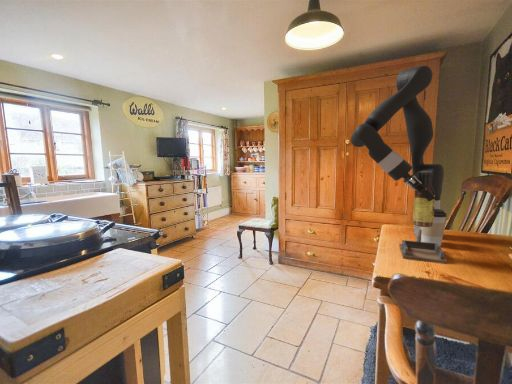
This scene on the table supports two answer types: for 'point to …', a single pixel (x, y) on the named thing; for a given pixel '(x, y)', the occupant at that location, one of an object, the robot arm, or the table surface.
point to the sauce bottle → (424, 203)
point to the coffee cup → (434, 228)
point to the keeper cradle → (422, 250)
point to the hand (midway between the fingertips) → (429, 198)
